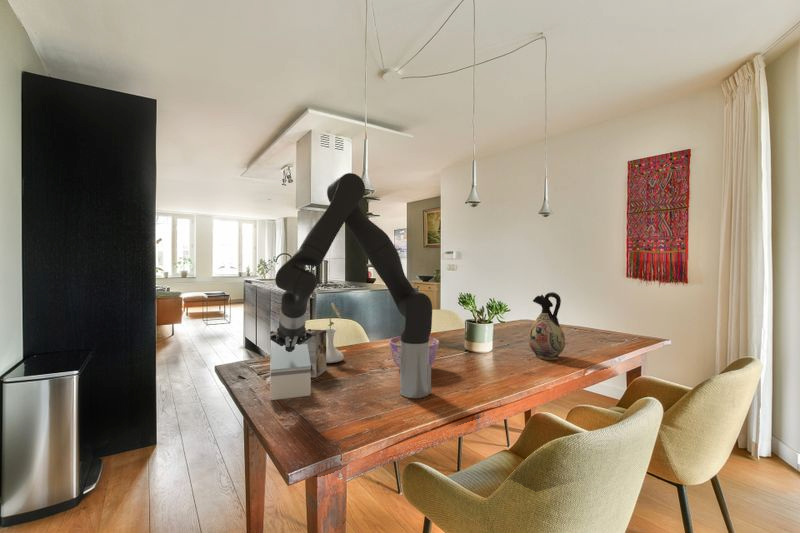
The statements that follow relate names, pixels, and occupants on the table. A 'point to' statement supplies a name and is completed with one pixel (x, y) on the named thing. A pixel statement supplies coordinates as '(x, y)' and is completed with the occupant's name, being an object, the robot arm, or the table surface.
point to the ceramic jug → (547, 330)
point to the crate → (290, 383)
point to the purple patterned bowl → (396, 349)
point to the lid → (289, 357)
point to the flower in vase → (331, 351)
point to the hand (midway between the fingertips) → (289, 349)
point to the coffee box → (317, 352)
